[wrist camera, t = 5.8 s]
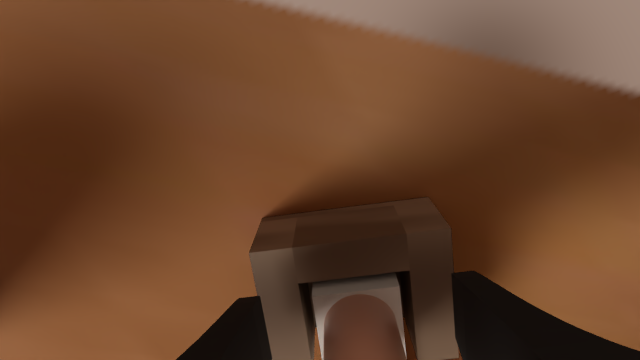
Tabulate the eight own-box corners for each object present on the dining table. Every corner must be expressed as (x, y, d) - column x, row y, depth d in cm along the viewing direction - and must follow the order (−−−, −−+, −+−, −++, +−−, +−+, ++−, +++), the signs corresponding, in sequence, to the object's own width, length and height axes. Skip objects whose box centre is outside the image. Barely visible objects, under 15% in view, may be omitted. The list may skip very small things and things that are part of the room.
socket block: (436, 307, 17) (458, 358, 14) (282, 324, 17) (273, 377, 14) (428, 197, 15) (451, 228, 13) (262, 217, 16) (248, 252, 13)
